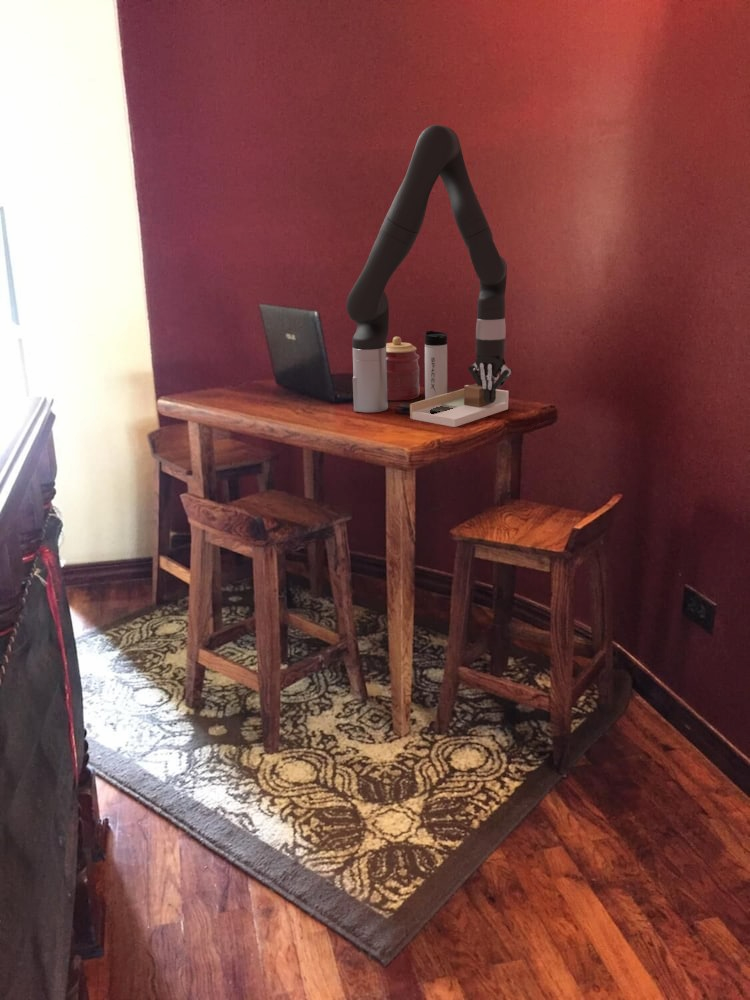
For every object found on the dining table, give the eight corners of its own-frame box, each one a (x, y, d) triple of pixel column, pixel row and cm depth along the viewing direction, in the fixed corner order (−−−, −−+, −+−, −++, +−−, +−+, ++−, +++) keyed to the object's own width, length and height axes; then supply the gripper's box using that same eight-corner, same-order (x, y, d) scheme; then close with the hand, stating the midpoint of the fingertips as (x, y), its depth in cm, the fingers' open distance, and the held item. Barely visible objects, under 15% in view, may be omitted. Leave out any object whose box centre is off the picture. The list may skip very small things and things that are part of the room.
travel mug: (437, 399, 226) (437, 329, 219) (451, 403, 221) (451, 331, 214) (420, 402, 223) (419, 331, 216) (433, 406, 218) (433, 334, 211)
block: (478, 407, 206) (479, 389, 204) (464, 404, 209) (464, 386, 208) (490, 404, 209) (490, 385, 208) (475, 401, 213) (475, 383, 211)
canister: (378, 392, 238) (376, 333, 232) (420, 391, 236) (420, 333, 230) (374, 401, 226) (372, 340, 220) (418, 401, 224) (418, 339, 218)
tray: (454, 427, 196) (454, 407, 194) (410, 418, 205) (409, 400, 203) (508, 409, 212) (508, 391, 210) (464, 402, 221) (464, 384, 220)
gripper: (520, 336, 197) (518, 403, 203) (478, 332, 205) (477, 397, 211) (504, 340, 192) (502, 408, 198) (461, 336, 200) (460, 402, 206)
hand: (489, 402), depth 205 cm, fingers closed
